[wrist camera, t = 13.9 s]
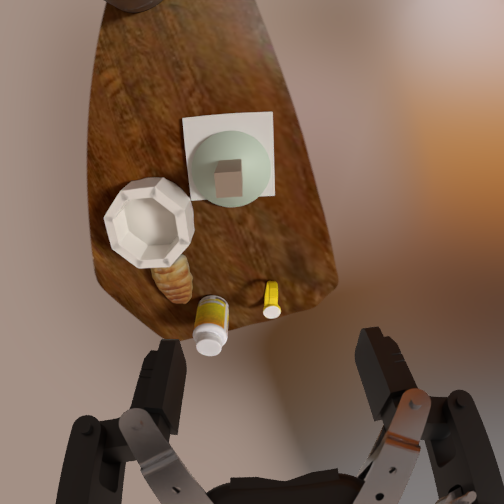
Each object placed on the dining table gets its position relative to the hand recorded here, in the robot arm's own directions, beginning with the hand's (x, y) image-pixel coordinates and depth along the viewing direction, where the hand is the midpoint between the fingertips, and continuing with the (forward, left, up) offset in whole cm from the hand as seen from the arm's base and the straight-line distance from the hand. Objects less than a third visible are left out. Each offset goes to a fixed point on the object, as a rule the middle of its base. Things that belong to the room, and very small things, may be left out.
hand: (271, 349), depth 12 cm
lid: (0, -3, -32) cm, 32 cm away
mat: (-2, -3, -32) cm, 32 cm away
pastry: (+17, -14, -33) cm, 39 cm away
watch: (+21, +2, -32) cm, 39 cm away
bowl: (+6, -15, -32) cm, 36 cm away
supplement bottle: (+24, -8, -32) cm, 41 cm away
